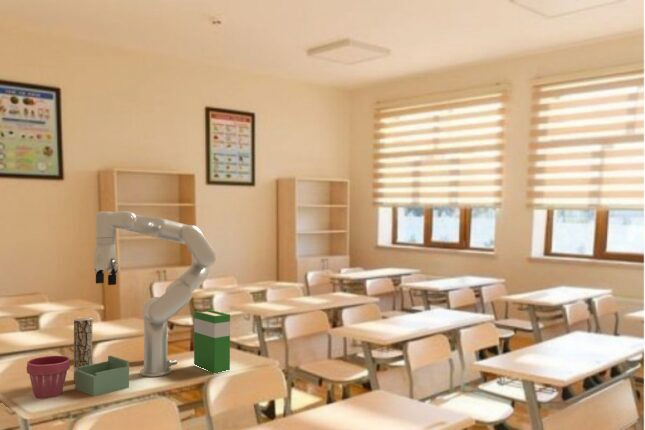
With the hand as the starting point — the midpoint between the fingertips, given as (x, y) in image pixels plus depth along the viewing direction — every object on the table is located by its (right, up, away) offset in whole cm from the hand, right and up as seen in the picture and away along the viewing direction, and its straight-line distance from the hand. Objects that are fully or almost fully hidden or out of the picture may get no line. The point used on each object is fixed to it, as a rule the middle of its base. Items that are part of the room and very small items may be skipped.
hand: (105, 284), depth 218 cm
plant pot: (-12, -38, -21) cm, 45 cm away
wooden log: (-8, -38, -3) cm, 39 cm away
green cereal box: (+40, -39, +16) cm, 58 cm away
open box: (+4, -38, -13) cm, 40 cm away
